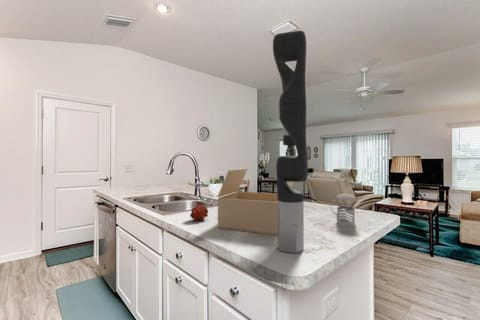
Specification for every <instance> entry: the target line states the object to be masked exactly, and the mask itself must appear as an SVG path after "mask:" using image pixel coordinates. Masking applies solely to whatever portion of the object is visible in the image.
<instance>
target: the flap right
mask: <svg viewBox="0 0 480 320" xmlns="http://www.w3.org/2000/svg"><path fill="white" fill-rule="evenodd" d="M287 184H288V185H289V186H290V187H291V188H292V187H293V185H294V182H290V181H287ZM277 201H278V200H277Z"/></svg>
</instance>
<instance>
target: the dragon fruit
mask: <svg viewBox="0 0 480 320" xmlns="http://www.w3.org/2000/svg"><path fill="white" fill-rule="evenodd" d="M190 211H191V212H190V213H189V214H190V215H189V216H190V218H191V219H192V221H193V222H198V221H199V220H200V221H201V222H202V221H203V220H205V218H206V217H207V218H208V216H209V214H208V213H209V211H208V208H207V207H206V205H203V206H202V205H201V204H198V206H197V205H195V206H194V208H192V209H191V210H190Z"/></svg>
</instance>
